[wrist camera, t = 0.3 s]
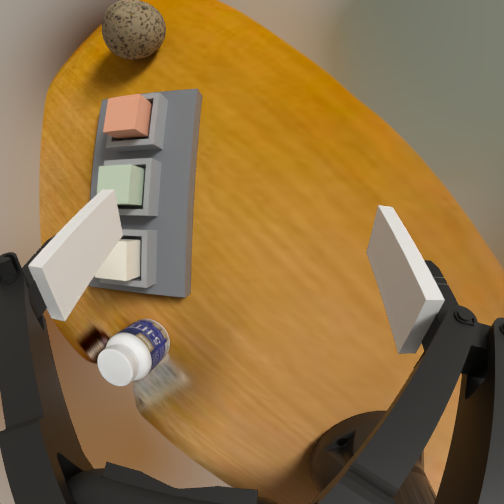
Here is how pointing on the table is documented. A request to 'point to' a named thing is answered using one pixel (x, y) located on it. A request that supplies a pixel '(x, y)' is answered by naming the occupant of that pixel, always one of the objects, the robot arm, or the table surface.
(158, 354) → the pill bottle
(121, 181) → the sage button
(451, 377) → the robot arm
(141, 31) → the decorative egg
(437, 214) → the table surface
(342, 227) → the table surface
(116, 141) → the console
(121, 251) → the cream button
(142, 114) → the terracotta button
